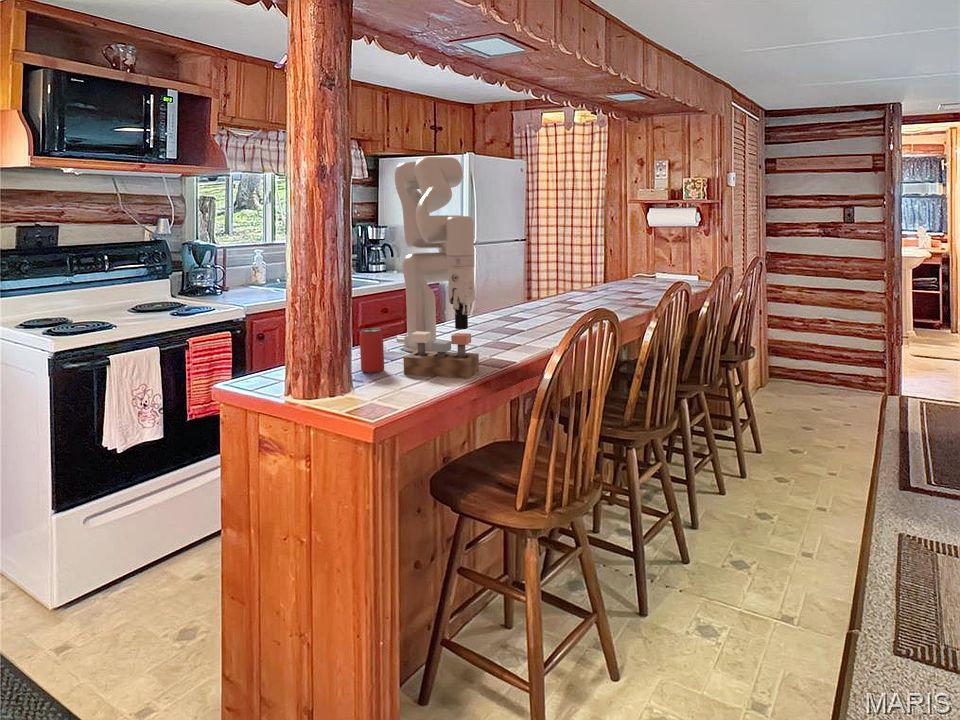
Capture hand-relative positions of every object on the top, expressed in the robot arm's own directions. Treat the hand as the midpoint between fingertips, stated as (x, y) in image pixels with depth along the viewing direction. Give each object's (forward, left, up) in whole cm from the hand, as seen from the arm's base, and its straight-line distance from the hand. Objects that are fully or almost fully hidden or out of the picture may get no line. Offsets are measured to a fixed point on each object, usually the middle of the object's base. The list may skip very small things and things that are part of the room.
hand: (461, 328), depth 199 cm
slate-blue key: (-6, 0, -12) cm, 13 cm away
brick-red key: (0, 0, -9) cm, 9 cm away
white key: (-12, 0, -9) cm, 15 cm away
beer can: (-26, -3, -13) cm, 29 cm away
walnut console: (-6, 0, -13) cm, 14 cm away
